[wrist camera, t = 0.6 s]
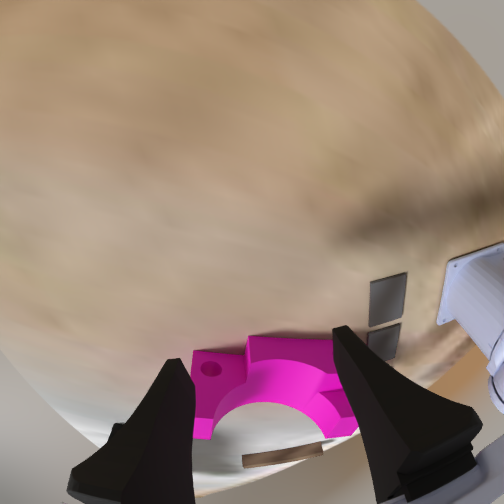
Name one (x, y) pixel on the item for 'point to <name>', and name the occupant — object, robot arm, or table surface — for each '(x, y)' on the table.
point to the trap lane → (380, 342)
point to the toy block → (272, 383)
